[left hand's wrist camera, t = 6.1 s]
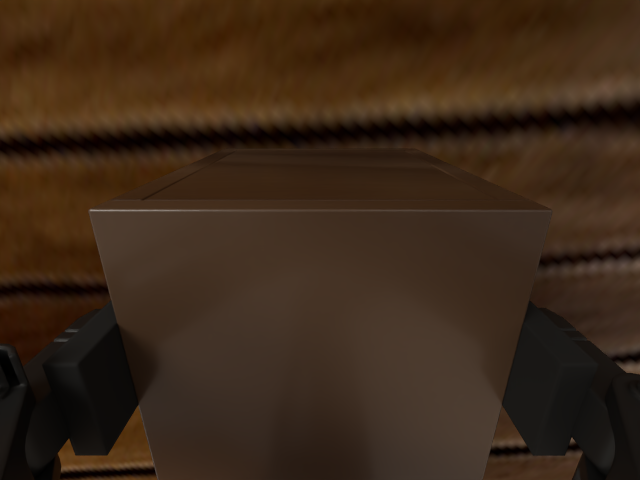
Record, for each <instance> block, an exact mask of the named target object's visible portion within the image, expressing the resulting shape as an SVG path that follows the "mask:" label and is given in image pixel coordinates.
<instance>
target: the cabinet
mask: <svg viewBox="0 0 640 480" xmlns="http://www.w3.org/2000/svg"><path fill="white" fill-rule="evenodd" d="M551 215H552V210H551V209H549V208H547V207H545V206H542V205H540V204H538V203H536V202H533V201H530V200H529V199H526V198H524V197H522V196H520V195H517V194H515V193H513V192H511V191H508V190H506V189H504V188H502V187H499V186H497V185H495V184H493V183H490V182H488V181H486V180H484V179H481V178H479V177H477V176H475V175H473V174H470V173H468V172H466V171H464V170H461V169H459V168H457V167H455V166H452V165H450V164H448V163H446V162H443V161H441V160H439V159H437V158H434V157H432V156H430V155H428V154H426V153H423V152H421V151H419V150H417V149H224V150H221V151H219V152H217V153H215V154H212V155H210V156H208V157H206V158H203V159H201V160H199V161H197V162H194V163H192V164H190V165H188V166H185V167H183V168H181V169H179V170H176V171H174V172H172V173H170V174H167V175H165V176H163V177H161V178H159V179H156V180H154V181H152V182H150V183H147V184H145V185H143V186H141V187H138V188H136V189H134V190H132V191H129V192H127V193H125V194H123V195H120V196H118V197H116V198H114V199H111V200H109V201H107V202H104V203H102V204H100V205H98V206H95V207H93V208H91V209H89V216H90V219H91V223H92V227H93V231H94V235H95V239H96V243H97V247H98V250H99V254H100V258H101V262H102V266H103V270H104V274H105V278H106V281H107V285H108V289H109V293H110V297H111V301H112V305H113V308H114V312H115V316H116V320H117V324H118V328H119V332H120V336H121V339H122V343H123V347H124V351H125V355H126V359H127V363H128V367H129V370H130V374H131V378H132V382H133V386H134V390H135V394H136V397H137V401H138V405H139V409H140V413H141V417H142V421H143V425H144V428H145V432H146V436H147V440H148V444H149V448H150V452H151V456H152V459H153V463H154V467H155V471H156V475H157V479H158V480H483V476H484V472H485V468H486V465H487V461H488V457H489V453H490V449H491V445H492V442H493V438H494V434H495V430H496V426H497V422H498V418H499V415H500V411H501V407H502V403H503V399H504V395H505V392H506V388H507V384H508V380H509V376H510V372H511V369H512V365H513V361H514V357H515V353H516V349H517V346H518V342H519V338H520V334H521V330H522V326H523V322H524V319H525V315H526V311H527V307H528V303H529V299H530V296H531V292H532V288H533V284H534V280H535V276H536V273H537V269H538V265H539V261H540V257H541V253H542V250H543V246H544V242H545V238H546V234H547V230H548V227H549V223H550V219H551Z"/></svg>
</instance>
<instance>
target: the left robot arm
mask: <svg viewBox="0 0 640 480" xmlns="http://www.w3.org/2000/svg"><path fill="white" fill-rule="evenodd" d="M502 405H503V407H504V409H505V410H506V412H507V413H508V415H509V417H510V418H511V420H512V422H513V423H514V425H515V427H516V428H517V430H518V432H519V433H520V435H521V436H522V438H523V440H524V441H525V443H526V445H527V446H528V448H529V450H530V451H531V453H532V454H533V455H556V456H565V454H566V451H567V448H568V446H569V443H570V440H571V438H573V439H574V440H575V442H576V443H577V444H578V445H579V447H580V448H581V449H582V451H583V453H582V456H581V458H580V461H579V463H578V466H577V468H576V471H575V473H574V476H573V478H572V480H640V375H639V374H633V373H626V372H625V371H624V370H623V369H621V368H620V367H619V366H618V365H617V364H616V363H615V362H613V361H612V360H611V359H610V358H609V357H608V356H606V355H605V354H604V353H603V352H602V351H601V350H600V349H598V348H597V347H596V346H595V345H594V344H593V343H591V342H590V341H587V338H586V337H585V336H583V335H582V334H581V333H580V332H579V331H576V329H575V328H574V327H573V326H572V325H571V324H570V323H568V322H567V321H566V320H565V319H564V318H563V317H561V316H559V315H557V314H555V313H553V312H552V311H550V310H548V309H546V308H537V307H536V306H535V305H534V304H533V303H532V302H531V301H529V303H528V307H527V311H526V315H525V319H524V322H523V326H522V330H521V334H520V338H519V342H518V346H517V349H516V353H515V357H514V361H513V365H512V369H511V372H510V376H509V380H508V384H507V388H506V392H505V395H504V399H503V403H502ZM137 406H138V401H137V397H136V394H135V390H134V386H133V382H132V378H131V374H130V370H129V367H128V363H127V359H126V355H125V351H124V347H123V343H122V339H121V336H120V332H119V328H118V324H117V320H116V316H115V312H114V308H113V305H112V301H110V302H109V303H108V304H107V305H105V306H104V307H103V308H102V309H95V310H93V311H91V312H89V313H88V314H86V315H84V316H82V317H80V318H78V319H77V320H76V321H75V322H74V323H73V324H71V325H70V326H69V327H68V328H67V329H66V330H65V332H62V333H61V334H60V335H59V336H58V337H57V338H55V339H54V342H51V343H50V344H49V345H47V346H46V347H45V348H44V349H43V350H42V351H41V352H39V353H38V354H37V355H36V356H35V357H34V358H33V359H31V360H30V361H29V362H28V363H27V364H26V365H25V366H22V363H21V361H20V358H19V356H18V353H17V351H16V348H15V347H14V346H12V345H10V344H0V480H60V472H61V463H60V458H59V456H58V452H59V451H60V449H61V448H62V447H63V445H64V444H65V443H66V441H67V440H68V439H70V442H71V444H72V447H73V450H74V452H75V455H108V453H109V452H110V450H111V448H112V447H113V445H114V444H115V442H116V440H117V439H118V437H119V435H120V434H121V432H122V430H123V429H124V427H125V426H126V424H127V422H128V421H129V419H130V417H131V416H132V414H133V412H134V411H135V409H136V408H137Z"/></svg>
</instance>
